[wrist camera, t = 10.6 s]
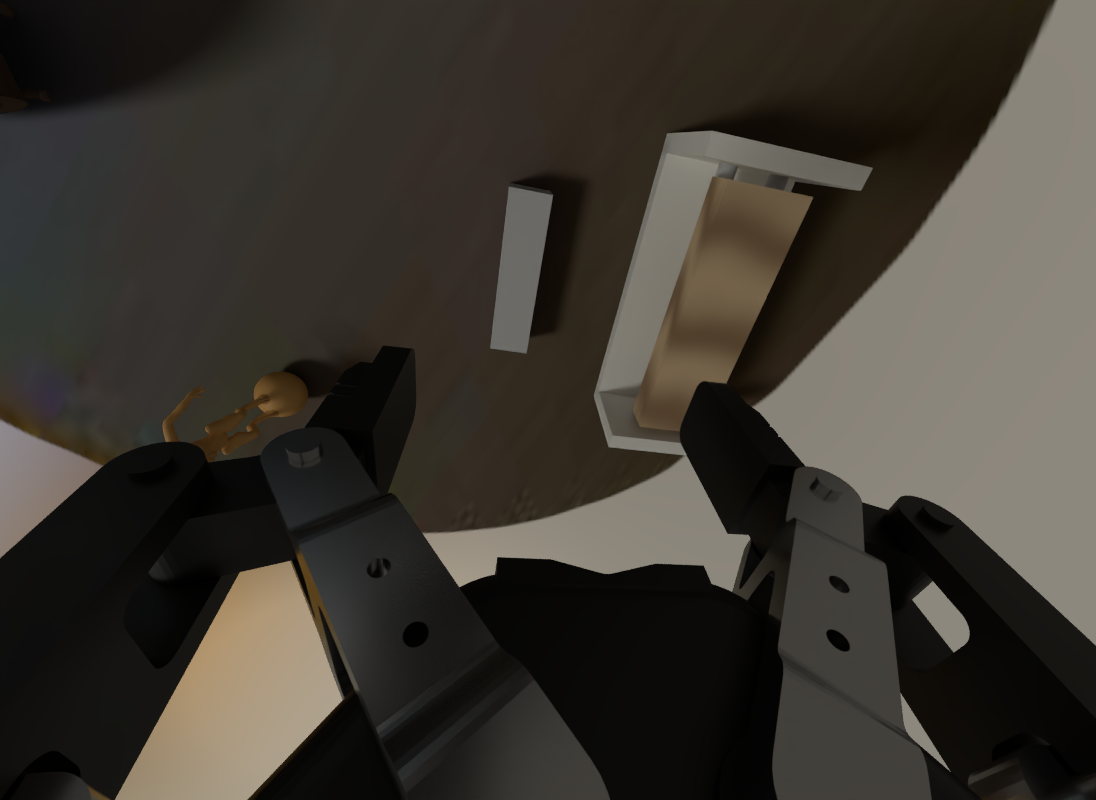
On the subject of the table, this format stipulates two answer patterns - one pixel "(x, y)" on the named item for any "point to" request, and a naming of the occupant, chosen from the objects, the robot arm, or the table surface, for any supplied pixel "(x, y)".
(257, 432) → the figurine
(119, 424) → the table surface
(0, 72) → the alarm clock
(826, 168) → the shelf frame
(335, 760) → the robot arm
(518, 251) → the block
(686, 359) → the shelf board
